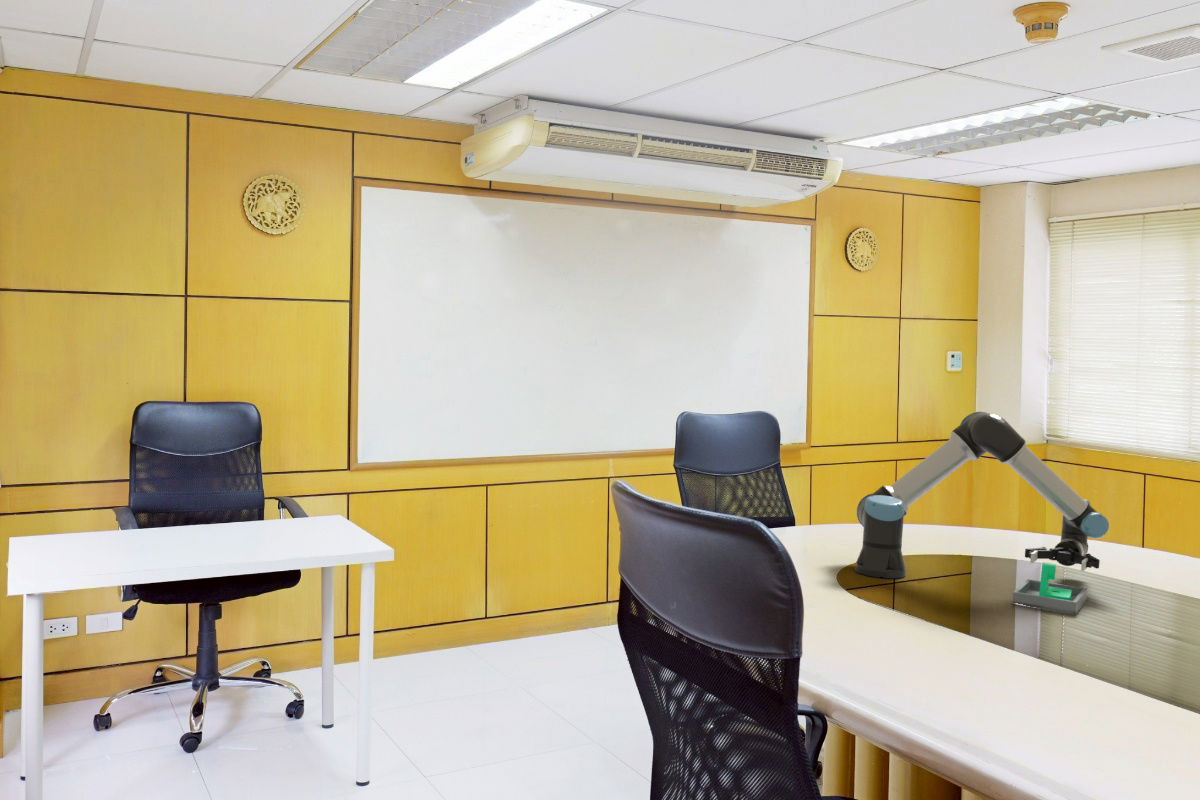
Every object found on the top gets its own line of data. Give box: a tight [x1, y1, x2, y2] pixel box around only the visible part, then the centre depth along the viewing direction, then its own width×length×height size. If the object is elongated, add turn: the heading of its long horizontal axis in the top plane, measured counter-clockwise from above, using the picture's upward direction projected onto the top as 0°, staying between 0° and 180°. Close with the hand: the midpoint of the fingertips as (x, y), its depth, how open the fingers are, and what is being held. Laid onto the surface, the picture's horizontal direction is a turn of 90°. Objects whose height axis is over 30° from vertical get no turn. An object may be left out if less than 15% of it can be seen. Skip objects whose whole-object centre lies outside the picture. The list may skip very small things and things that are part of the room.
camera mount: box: [1039, 562, 1072, 601], centre depth 278 cm, size 12×8×10 cm, turn 152°
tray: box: [1011, 578, 1088, 616], centre depth 280 cm, size 16×22×4 cm
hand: (1057, 562), depth 288 cm, fingers open, 13 cm apart
